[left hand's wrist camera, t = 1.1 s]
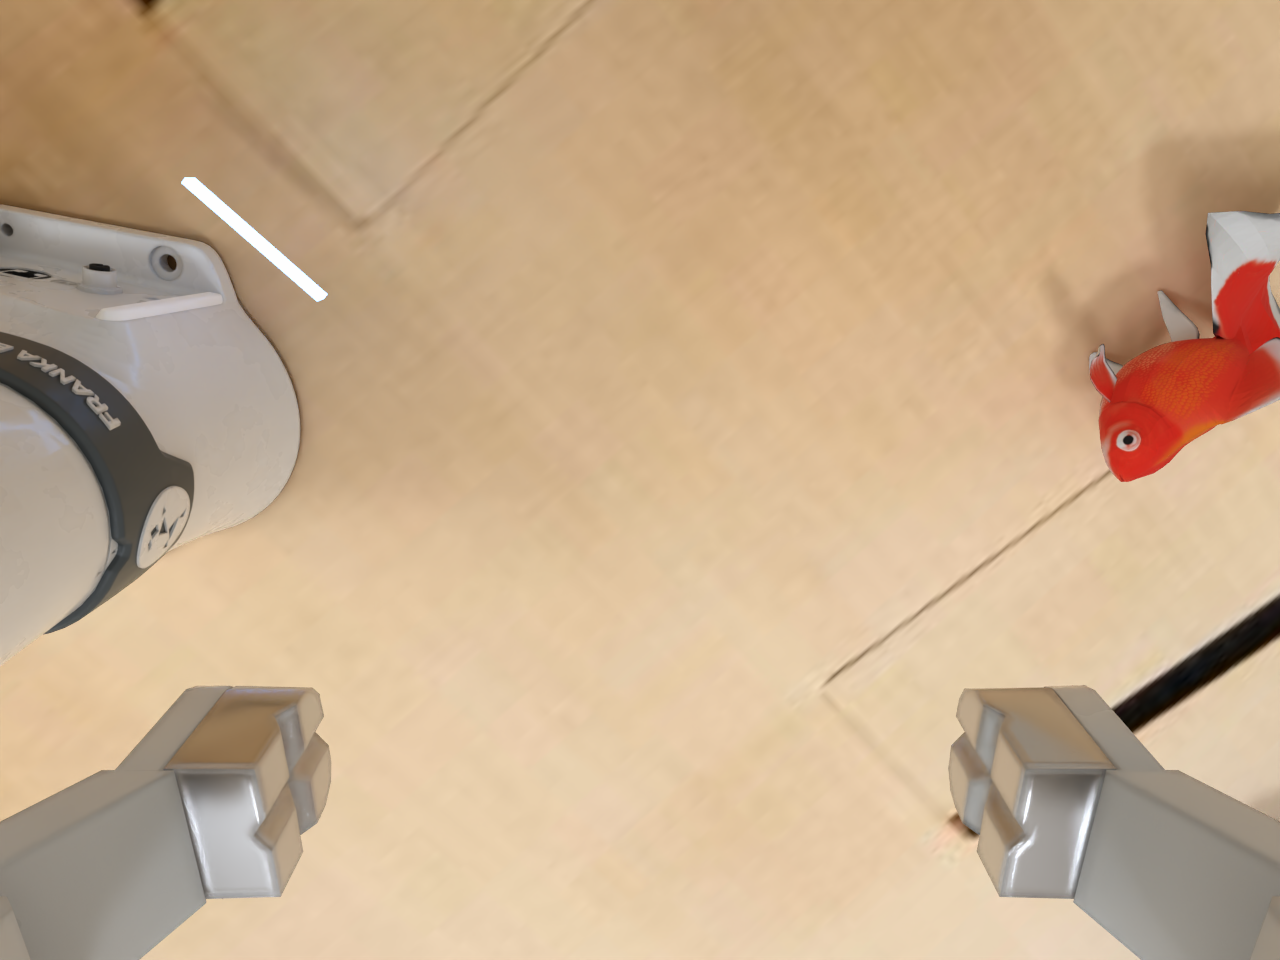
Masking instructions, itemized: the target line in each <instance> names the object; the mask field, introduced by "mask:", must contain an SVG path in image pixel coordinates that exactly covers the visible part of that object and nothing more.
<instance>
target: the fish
mask: <svg viewBox="0 0 1280 960" xmlns="http://www.w3.org/2000/svg"><path fill="white" fill-rule="evenodd" d="M1206 239H1207V245H1208V250H1209V256H1210V262H1211V292H1212V315H1213V333H1214V335H1215V337H1214V338H1206V339H1199V331H1198V328H1197V327H1196V326H1195V325H1194V323H1193V322H1192V321H1191V320H1190V319H1189V318H1188V317H1186V316H1185V315H1184V314H1183V313H1182V312H1181V311H1180V310H1179V309H1178V308H1177V307H1176V306H1175V305H1174V304H1173V302H1172V301H1171V300H1170V299H1169V298H1168V297H1167V296H1166V295H1165V293H1164V292H1163V291H1158V297H1159V301H1160V306H1161V312H1162V316H1163V319H1164V322H1165V324H1166V327H1167V329H1168V331H1169V334H1170V337H1171V342H1169V343H1166V344H1163V345H1159V346H1157V347H1155V348H1152V349H1150V350H1148V351H1146V352H1144V353H1142V354H1140V355H1139V356H1137V357H1135V358H1133V359H1132V360H1130V361H1129V362H1128V363H1126V364H1125V365H1124V366H1122V365H1120V364H1118V363H1115V362H1113V361H1110V360H1108V359H1106V357H1105V346H1104V344H1102V345H1100V346H1099V348H1098V352H1094V353H1092V354H1091V355H1090V357H1089V368H1090V379H1091V381H1092V383H1093V385H1094V386H1095V388H1096V390H1097V391H1098V392H1099V393H1100V394H1101V395H1102V396H1103V398H1102V401H1101V406H1100V416H1099V429H1100V440H1101V448H1102V452H1103V455H1104V458H1105V462H1106V464H1107V466H1108V468H1109V469H1110V471H1111V472H1112V473H1113V474H1114V475H1115V476H1116V478H1118V479H1119V480H1120V481H1121V482H1129V481H1132V480H1135V479H1137V478H1141V477H1144V476H1147V475H1150V474H1153V473H1155V472H1156V471H1158V470H1159V469H1161V468H1163V467H1164V466H1165V465H1166V464H1167V463H1169V462H1170V461H1171V460H1172V459H1173V458H1174V456H1175V455H1176V454H1177V453H1178V452H1179V451H1180V450H1181V449H1182V448H1183V447H1184V446H1185V445H1187V444H1188V443H1190V442H1191V441H1193V440H1194V439H1196V438H1198V437H1199V436H1201V435H1203V434H1204V433H1206V432H1208V431H1209V430H1211V429H1213V428H1214V427H1215V426H1216V425H1218V424H1224V423H1227V422H1230V421H1233V420H1235V419H1237V418H1240V417H1242V416H1244V415H1247V414H1249V413H1251V412H1254V411H1256V410H1258V409H1260V408H1263V407H1265V406H1267V405H1269V404H1272V403H1274V402H1276V401H1278V400H1280V309H1279V307H1278V305H1277V303H1276V301H1275V298H1274V296H1273V294H1272V292H1271V288H1270V282H1269V275H1270V273H1271V272H1272V270H1273V269H1274V268H1275V266H1276V265H1277V263H1278V262H1279V260H1280V213H1275V214H1265V213H1256V212H1246V211H1234V212H1217V213H1208V218H1207V227H1206Z"/></svg>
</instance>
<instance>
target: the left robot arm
mask: <svg viewBox="0 0 1280 960" xmlns="http://www.w3.org/2000/svg"><path fill="white" fill-rule="evenodd" d="M181 183H182V184H183V185H184V186H185V187H186V188H188V189H189V190H190V191H191V192H192V193H193V194H194V195H196V196H197V197H198V198H199V199H200V200H201V201H202V202H204V203H205V204H206V205H207V206H208V207H209V208H211V209H212V210H213V211H214V212H215V213H216V214H217V215H219V216H220V217H221V218H222V219H223V220H224V221H225V222H227V223H228V224H229V225H230V226H231V227H232V228H233V229H235V230H236V231H237V232H238V233H239V234H240V235H241V236H243V237H244V238H245V239H246V240H247V241H248V242H249V243H251V244H252V245H253V246H254V247H255V248H256V249H258V250H259V251H260V252H261V253H262V254H263V255H264V256H266V257H267V258H268V259H269V260H270V261H271V262H272V263H274V264H275V265H276V266H277V267H278V268H279V269H280V270H282V271H283V272H284V273H285V274H286V275H287V276H288V277H290V278H291V279H292V280H293V281H294V282H295V283H296V284H298V285H299V286H300V287H301V288H302V289H303V290H305V291H306V292H307V293H308V294H309V295H310V296H311V297H313V298H314V299H315V300H316V301H320V300H322V299H324V298H325V297H326V296H327V293H326V292H325V291H323V290H322V289H321V288H320V287H319V286H318V285H317V284H315V283H314V282H313V281H312V280H311V279H310V278H309V277H307V276H306V275H305V274H304V273H303V272H302V271H301V270H300V269H298V268H297V267H296V266H295V265H294V264H293V263H292V262H290V261H289V260H288V259H287V258H286V257H285V256H284V255H282V254H281V253H280V252H279V251H278V250H277V249H276V248H274V247H273V246H272V245H271V244H270V243H269V242H268V241H266V240H265V239H264V238H263V237H262V236H261V235H260V234H259V233H257V232H256V231H255V230H254V229H253V228H252V227H251V226H249V225H248V224H247V223H246V222H245V221H244V220H243V219H241V218H240V217H239V216H238V215H237V214H236V213H235V212H233V211H232V210H231V209H230V208H229V207H228V206H227V205H225V204H224V203H223V202H222V201H221V200H220V199H219V198H218V197H216V196H215V195H214V194H213V193H212V192H211V191H210V190H208V189H207V188H206V187H205V186H204V185H203V184H202V183H200V182H199V181H198V180H197V179H196V178H187V177H185V178H184V180H183V181H182V182H181ZM169 255H171V256H172V257H174V259H175V260H176V263H177V267H176V269H175V270H173V269H172V268H170V266H169V265H168V262H167V258H168V256H169ZM299 444H300V415H299V408H298V403H297V398H296V394H295V391H294V388H293V385H292V382H291V380H290V377H289V375H288V372H287V370H286V368H285V366H284V364H283V362H282V361H281V359H280V357H279V355H278V354H277V352H276V351H275V349H274V348H273V346H272V345H271V343H270V342H269V341H268V339H267V338H266V337H265V336H264V335H263V333H262V332H261V331H260V330H259V329H258V327H257V326H256V325H255V324H254V323H253V322H252V320H251V319H250V318H249V317H248V315H247V314H246V313H245V311H244V310H243V308H242V307H241V305H240V304H239V302H238V299H237V296H236V294H235V291H234V288H233V285H232V282H231V280H230V277H229V275H228V272H227V270H226V267H225V265H224V263H223V262H222V260H221V258H220V256H219V255H218V254H217V252H216V251H215V250H214V249H213V248H212V247H210V246H209V245H207V244H205V243H203V242H200V241H196V240H191V239H186V238H180V237H175V236H170V235H164V234H159V233H154V232H148V231H143V230H137V229H132V228H127V227H121V226H116V225H110V224H105V223H100V222H94V221H89V220H84V219H78V218H73V217H67V216H62V215H57V214H51V213H46V212H41V211H35V210H30V209H24V208H19V207H14V206H8V205H3V204H0V666H1V665H3V664H4V663H5V662H7V661H8V660H9V659H11V658H12V657H13V656H15V655H16V654H17V653H19V652H20V651H21V650H23V649H24V648H25V647H27V646H28V645H29V644H31V643H32V642H33V641H35V640H36V639H37V638H39V637H40V636H41V635H43V634H48V633H51V632H54V631H57V630H60V629H63V628H65V627H67V626H69V625H71V624H73V623H75V622H77V621H78V620H80V619H81V618H83V617H84V616H86V615H87V614H89V613H90V612H92V611H93V610H94V609H96V608H97V607H99V606H100V605H102V604H103V603H105V602H106V601H108V600H109V599H110V598H112V597H113V596H114V595H116V594H117V593H119V592H120V591H121V590H123V589H124V588H125V587H127V586H128V585H129V584H131V583H132V582H133V581H135V580H136V579H137V578H139V577H140V576H141V575H142V574H143V573H145V572H146V571H147V570H148V569H149V568H150V567H151V566H153V565H154V564H155V563H156V562H157V561H158V560H159V559H160V558H161V557H162V556H163V555H164V554H166V553H167V552H169V551H171V550H173V549H175V548H177V547H179V546H181V545H183V544H186V543H188V542H191V541H193V540H195V539H198V538H200V537H203V536H205V535H208V534H211V533H214V532H217V531H221V530H224V529H228V528H231V527H234V526H236V525H239V524H241V523H243V522H245V521H247V520H249V519H251V518H253V517H254V516H256V515H257V514H259V513H260V512H262V511H263V510H264V509H265V508H266V507H268V506H269V505H270V504H271V503H272V502H273V501H274V500H275V498H276V497H277V496H278V495H279V494H280V492H281V491H282V490H283V488H284V486H285V485H286V483H287V482H288V480H289V478H290V476H291V473H292V471H293V468H294V466H295V463H296V459H297V455H298V451H299ZM323 717H324V714H323V709H322V705H321V700H320V695H319V693H318V692H317V691H315V690H314V689H313V688H304V687H257V686H235V687H232V686H195V687H192V688H189V689H186V690H185V691H184V692H183V693H182V694H181V696H180V697H179V698H178V699H177V700H176V701H175V702H174V704H173V705H172V706H171V707H170V708H169V709H168V710H167V712H166V713H165V714H164V715H163V716H162V717H161V718H160V719H159V721H158V722H157V723H156V724H155V725H154V726H153V727H152V729H151V730H150V731H149V732H148V733H147V734H146V735H145V736H144V738H143V739H142V740H141V741H140V742H139V743H138V744H137V746H136V747H135V748H134V749H133V750H132V751H131V752H130V754H129V755H128V756H127V757H126V758H125V759H124V760H123V761H122V763H121V764H120V765H119V766H118V767H117V768H116V769H115V770H101V771H99V772H97V773H95V774H94V775H92V776H90V777H88V778H86V779H84V780H82V781H80V782H78V783H76V784H74V785H72V786H70V787H68V788H66V789H64V790H62V791H60V792H58V793H56V794H54V795H52V796H50V797H48V798H46V799H44V800H42V801H40V802H38V803H36V804H34V805H32V806H30V807H28V808H26V809H25V810H23V811H21V812H19V813H17V814H15V815H13V816H11V817H9V818H7V819H5V820H3V821H1V822H0V960H139V959H141V958H142V957H143V956H144V955H145V954H146V953H148V952H149V951H150V950H151V949H152V948H154V947H155V946H156V945H157V944H158V943H159V942H161V941H162V940H163V939H164V938H165V937H167V936H168V935H169V934H170V933H171V932H172V931H174V930H175V929H176V928H177V927H178V926H180V925H181V924H182V923H183V922H184V921H185V920H187V919H188V918H189V917H190V916H191V915H193V914H194V913H195V912H196V911H197V910H198V909H200V908H201V907H202V906H203V905H204V904H205V903H206V899H216V898H250V897H281V895H282V893H283V891H284V889H285V887H286V885H287V883H288V881H289V879H290V877H291V875H292V873H293V871H294V869H295V867H296V865H297V863H298V861H299V859H300V857H301V855H302V853H303V848H302V842H301V836H300V835H301V834H303V833H304V832H305V831H307V830H308V829H310V828H311V827H312V826H314V825H315V824H317V822H318V820H319V818H320V816H321V814H322V812H323V809H324V807H325V805H326V801H327V797H328V792H329V787H330V783H331V758H330V751H329V746H328V744H327V743H326V742H325V741H324V740H323V739H322V738H321V737H320V736H319V735H318V734H317V733H316V732H315V731H316V729H317V728H318V726H319V724H320V722H321V721H322V719H323ZM956 717H957V719H958V721H959V722H960V724H961V726H962V728H963V729H964V731H965V732H964V733H963V734H962V735H961V736H960V737H959V738H958V739H957V740H956V741H955V742H954V743H953V744H952V746H951V752H950V760H949V779H950V790H951V794H952V797H953V801H954V804H955V807H956V810H957V812H958V814H959V816H960V818H961V820H962V822H963V824H965V825H966V826H968V827H969V828H970V829H972V830H973V831H975V832H976V833H977V834H979V835H980V836H979V842H978V848H977V853H978V855H979V857H980V859H981V861H982V863H983V865H984V867H985V869H986V871H987V873H988V875H989V877H990V879H991V881H992V883H993V885H994V887H995V889H996V891H997V893H998V895H999V897H1028V898H1063V899H1074V903H1075V904H1076V905H1077V906H1078V907H1080V908H1081V909H1082V910H1083V911H1084V912H1086V913H1087V914H1088V915H1089V916H1090V917H1091V918H1093V919H1094V920H1095V921H1096V922H1097V923H1098V924H1100V925H1101V926H1102V927H1103V928H1104V929H1106V930H1107V931H1108V932H1109V933H1110V934H1111V935H1113V936H1114V937H1115V938H1116V939H1117V940H1119V941H1120V942H1121V943H1122V944H1123V945H1124V946H1126V947H1127V948H1128V949H1129V950H1130V951H1131V952H1133V953H1134V954H1135V955H1136V956H1137V957H1139V958H1140V959H1141V960H1280V822H1279V821H1277V820H1275V819H1273V818H1271V817H1269V816H1267V815H1265V814H1263V813H1261V812H1259V811H1257V810H1255V809H1253V808H1251V807H1249V806H1247V805H1245V804H1243V803H1242V802H1240V801H1238V800H1236V799H1234V798H1232V797H1230V796H1228V795H1226V794H1224V793H1222V792H1220V791H1218V790H1216V789H1214V788H1212V787H1210V786H1208V785H1206V784H1204V783H1202V782H1200V781H1198V780H1196V779H1194V778H1192V777H1190V776H1188V775H1186V774H1185V773H1183V772H1181V771H1179V770H1165V769H1164V768H1163V767H1162V766H1161V765H1160V764H1159V763H1158V761H1157V760H1156V759H1155V758H1154V757H1153V756H1152V755H1151V754H1150V752H1149V751H1148V750H1147V749H1146V748H1145V747H1144V746H1143V744H1142V743H1141V742H1140V741H1139V740H1138V739H1137V738H1136V737H1135V735H1134V734H1133V733H1132V732H1131V731H1130V730H1129V729H1128V727H1127V726H1126V725H1125V724H1124V723H1123V722H1122V721H1121V719H1120V718H1119V717H1118V716H1117V715H1116V714H1115V713H1114V712H1113V710H1112V709H1111V708H1110V707H1109V706H1108V705H1107V704H1106V702H1105V701H1104V700H1103V699H1102V698H1101V697H1100V696H1099V695H1098V693H1097V692H1096V691H1095V690H1093V689H1091V688H1089V687H1087V686H1085V685H1080V686H1050V687H1044V688H979V689H964V691H963V693H962V695H961V697H960V699H959V703H958V708H957V714H956Z"/></svg>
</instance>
